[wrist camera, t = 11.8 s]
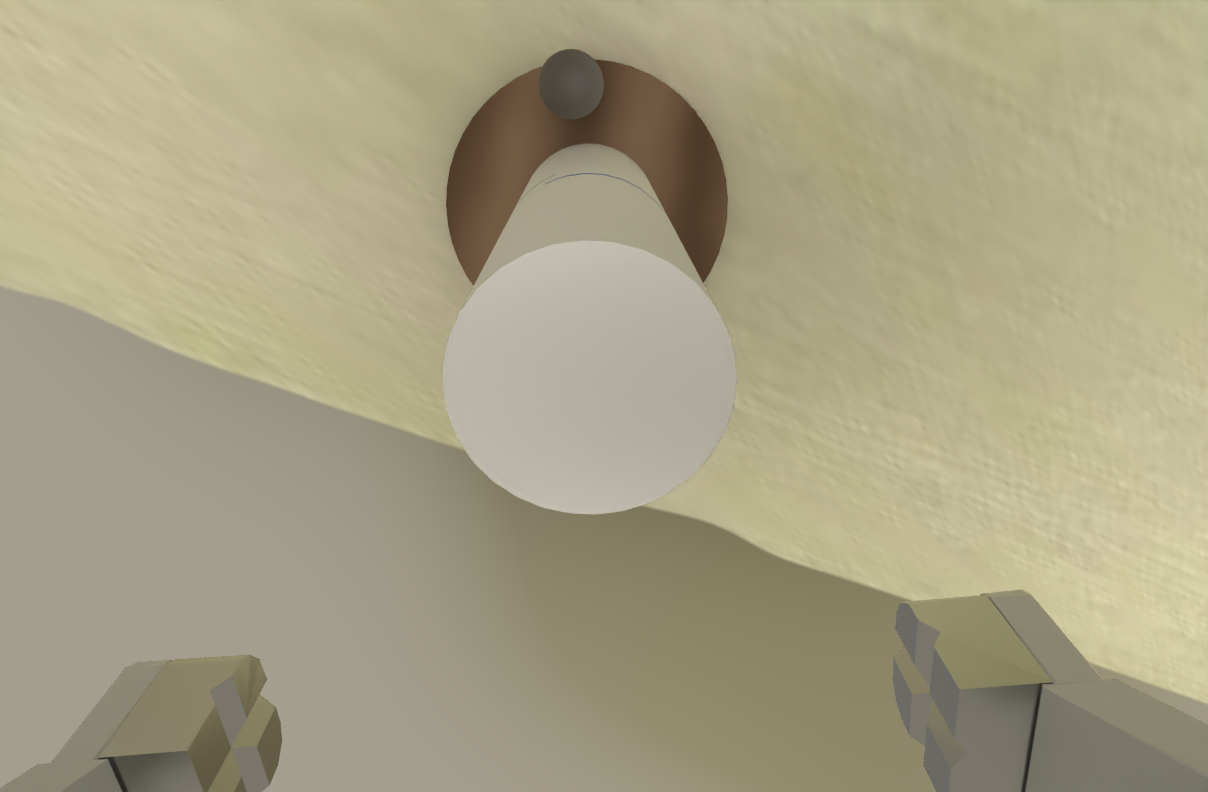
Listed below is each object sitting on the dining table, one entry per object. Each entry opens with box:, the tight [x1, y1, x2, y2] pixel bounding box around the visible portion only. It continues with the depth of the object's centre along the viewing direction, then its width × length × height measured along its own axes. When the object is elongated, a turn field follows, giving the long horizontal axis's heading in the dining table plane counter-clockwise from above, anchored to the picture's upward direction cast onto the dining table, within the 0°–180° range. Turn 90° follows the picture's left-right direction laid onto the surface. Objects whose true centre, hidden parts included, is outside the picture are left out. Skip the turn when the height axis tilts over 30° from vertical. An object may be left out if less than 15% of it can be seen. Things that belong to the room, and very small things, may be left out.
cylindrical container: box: [442, 143, 737, 514], centre depth 31 cm, size 7×7×25 cm
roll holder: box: [446, 49, 728, 285], centre depth 38 cm, size 15×16×12 cm
